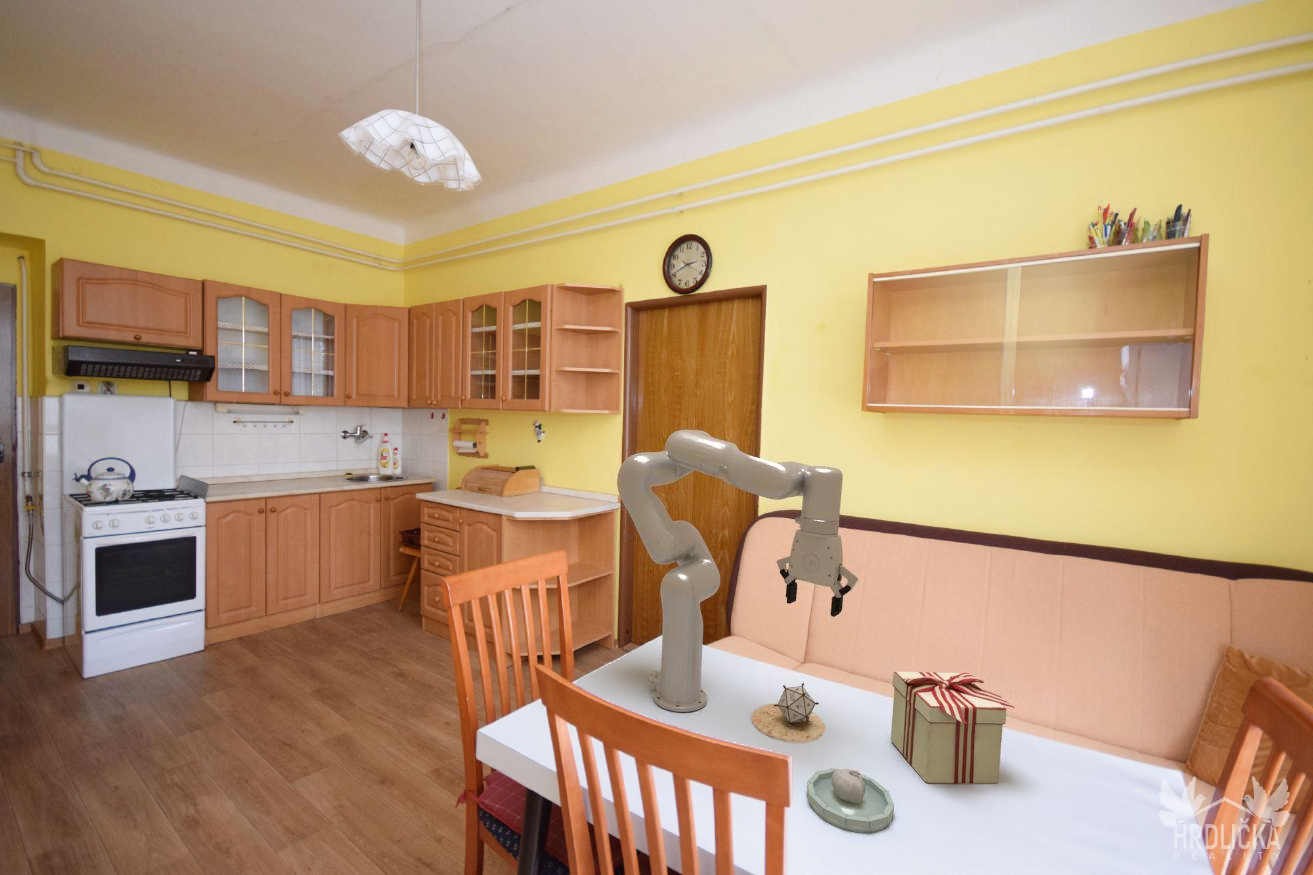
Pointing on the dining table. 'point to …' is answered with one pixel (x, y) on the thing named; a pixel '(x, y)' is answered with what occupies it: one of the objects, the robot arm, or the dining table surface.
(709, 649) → the dining table surface
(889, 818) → the plate
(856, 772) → the garlic
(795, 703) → the game die
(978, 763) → the gift box
